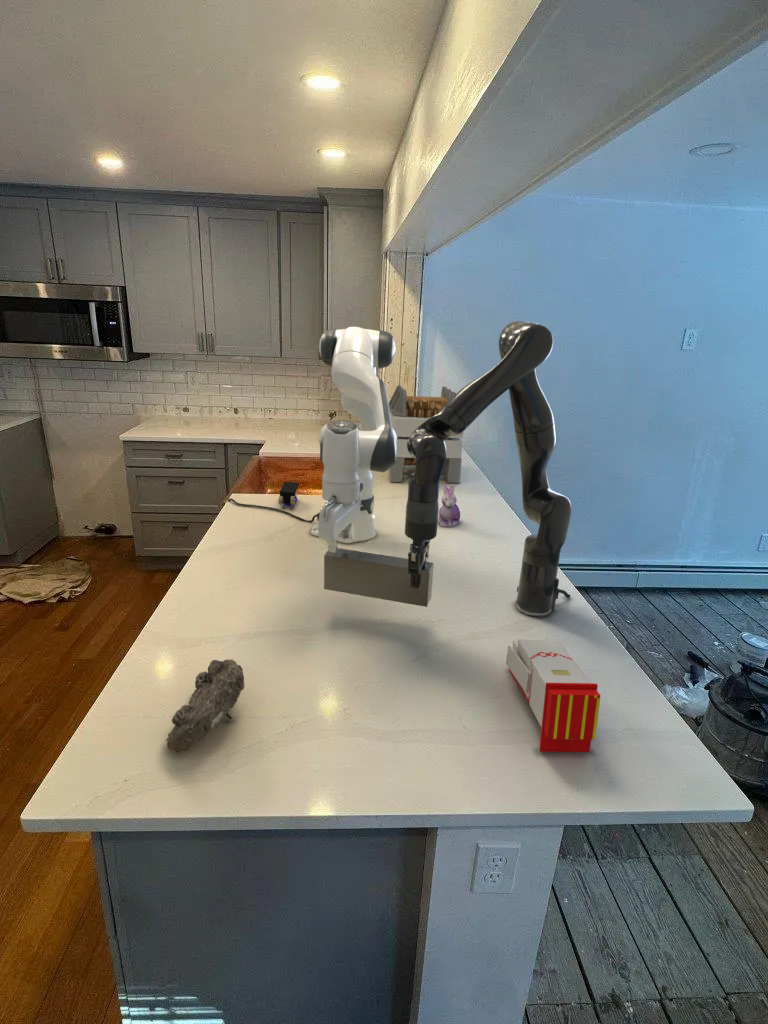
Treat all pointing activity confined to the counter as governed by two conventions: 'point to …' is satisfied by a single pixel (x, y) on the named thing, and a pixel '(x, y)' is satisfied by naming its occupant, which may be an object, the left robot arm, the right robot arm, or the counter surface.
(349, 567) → the bar
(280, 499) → the figurine character
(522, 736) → the counter surface
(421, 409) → the transformer
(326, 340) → the left robot arm
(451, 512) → the figurine
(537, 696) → the toy
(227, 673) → the fossil
